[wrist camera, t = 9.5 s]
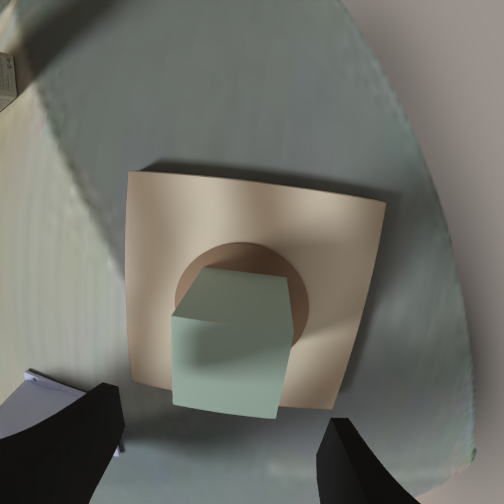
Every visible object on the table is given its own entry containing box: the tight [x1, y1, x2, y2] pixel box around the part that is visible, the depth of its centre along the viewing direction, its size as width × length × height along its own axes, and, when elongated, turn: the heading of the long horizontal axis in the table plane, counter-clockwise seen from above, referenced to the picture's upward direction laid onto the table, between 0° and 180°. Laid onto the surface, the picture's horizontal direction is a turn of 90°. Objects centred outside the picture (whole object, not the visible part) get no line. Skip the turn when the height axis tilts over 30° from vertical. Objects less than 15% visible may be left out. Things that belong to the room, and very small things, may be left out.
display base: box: [125, 171, 386, 409], centre depth 19 cm, size 14×14×2 cm
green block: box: [171, 267, 294, 419], centre depth 15 cm, size 4×4×6 cm
